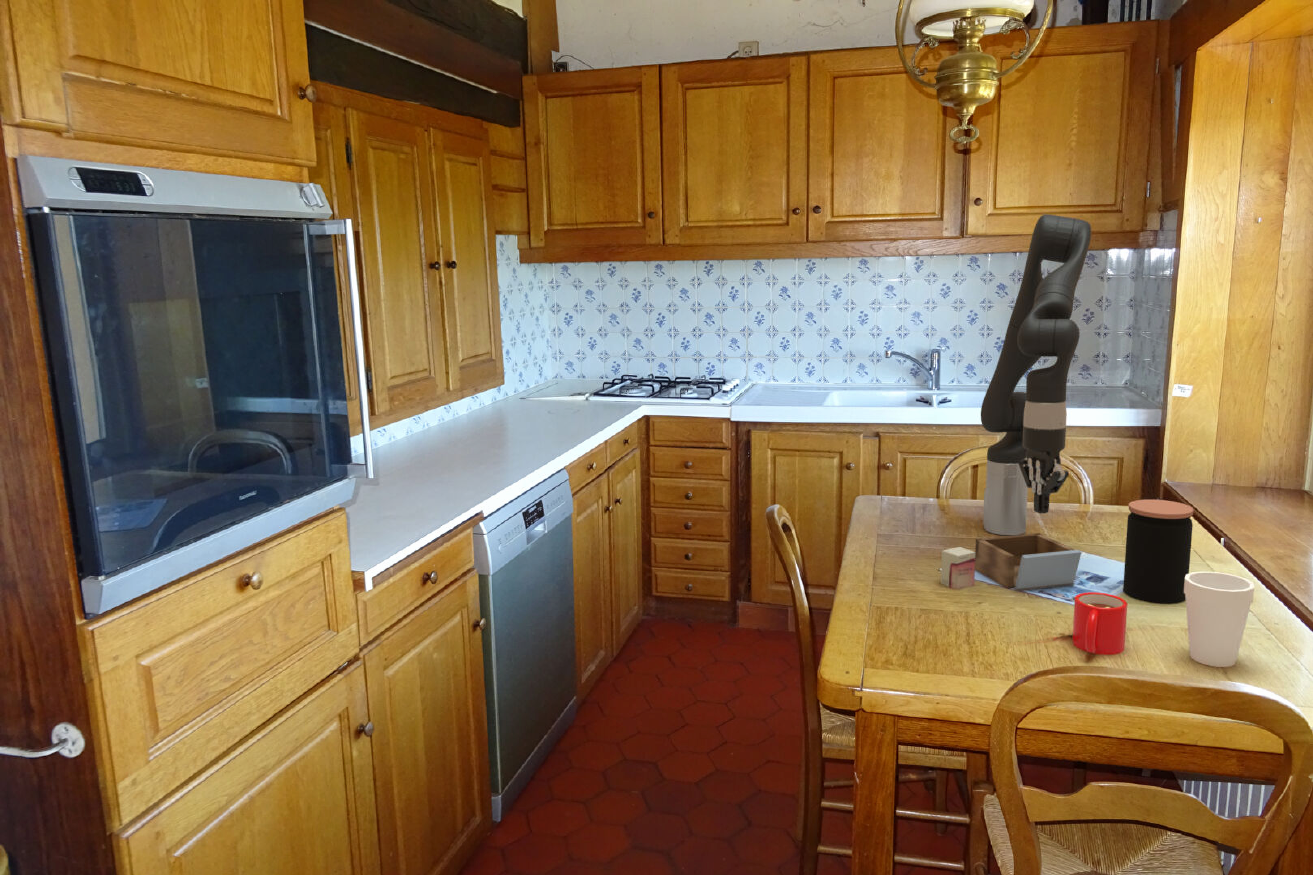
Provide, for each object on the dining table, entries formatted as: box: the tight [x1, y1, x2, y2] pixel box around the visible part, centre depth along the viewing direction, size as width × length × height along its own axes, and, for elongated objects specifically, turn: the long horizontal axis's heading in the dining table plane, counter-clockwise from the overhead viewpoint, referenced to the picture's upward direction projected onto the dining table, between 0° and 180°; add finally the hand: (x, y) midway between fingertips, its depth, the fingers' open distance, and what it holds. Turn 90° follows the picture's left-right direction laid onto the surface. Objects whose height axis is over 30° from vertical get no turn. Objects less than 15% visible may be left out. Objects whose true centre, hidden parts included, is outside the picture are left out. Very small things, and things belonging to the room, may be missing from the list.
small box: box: [940, 546, 976, 590], centre depth 180 cm, size 5×4×8 cm
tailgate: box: [1013, 549, 1082, 592], centre depth 176 cm, size 1×12×8 cm, turn 102°
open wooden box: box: [974, 532, 1076, 590], centre depth 184 cm, size 12×14×8 cm
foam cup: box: [1184, 570, 1255, 668], centre depth 145 cm, size 10×9×13 cm
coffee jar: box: [1122, 499, 1194, 605], centre depth 171 cm, size 11×11×18 cm
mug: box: [1071, 591, 1128, 656], centre depth 150 cm, size 8×12×8 cm, turn 147°
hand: (1040, 512), depth 177 cm, fingers closed
